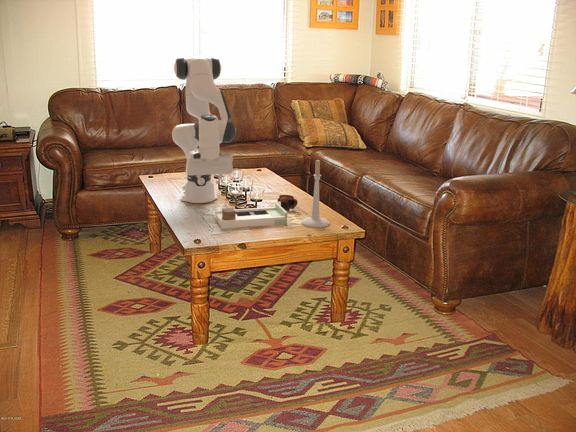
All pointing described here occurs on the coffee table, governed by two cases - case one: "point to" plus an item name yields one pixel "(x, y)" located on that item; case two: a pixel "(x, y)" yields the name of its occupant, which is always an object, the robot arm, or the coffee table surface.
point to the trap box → (254, 217)
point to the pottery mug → (287, 202)
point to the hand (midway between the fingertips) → (209, 184)
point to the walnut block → (228, 214)
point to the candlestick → (315, 204)
